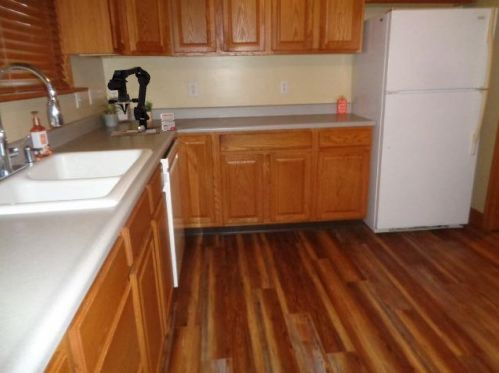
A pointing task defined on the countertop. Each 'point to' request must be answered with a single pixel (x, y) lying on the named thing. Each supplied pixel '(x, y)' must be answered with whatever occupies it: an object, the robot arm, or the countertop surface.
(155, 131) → the hinge board
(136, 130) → the loose leaf
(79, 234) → the countertop surface
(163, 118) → the ink box
